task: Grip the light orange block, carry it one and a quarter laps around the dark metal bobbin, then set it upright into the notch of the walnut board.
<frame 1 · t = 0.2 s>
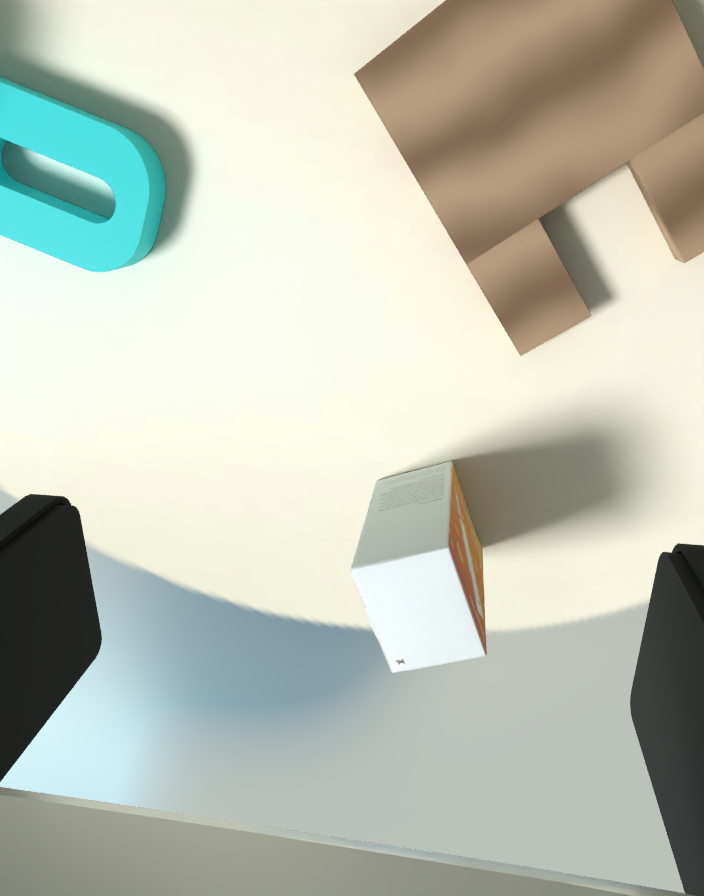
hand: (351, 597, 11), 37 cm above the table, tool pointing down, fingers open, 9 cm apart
notched board: (555, 145, 40), on the table
bracket: (32, 164, 46), on the table
small box: (430, 512, 51), on the table
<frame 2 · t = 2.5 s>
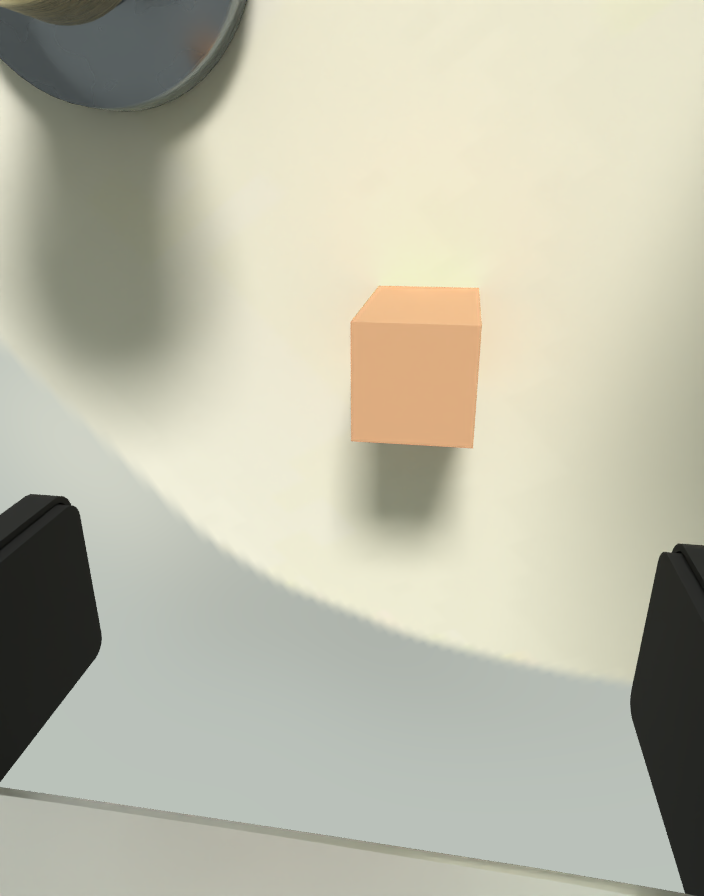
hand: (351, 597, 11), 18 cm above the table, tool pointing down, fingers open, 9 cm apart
light orange block: (426, 336, 27), on the table
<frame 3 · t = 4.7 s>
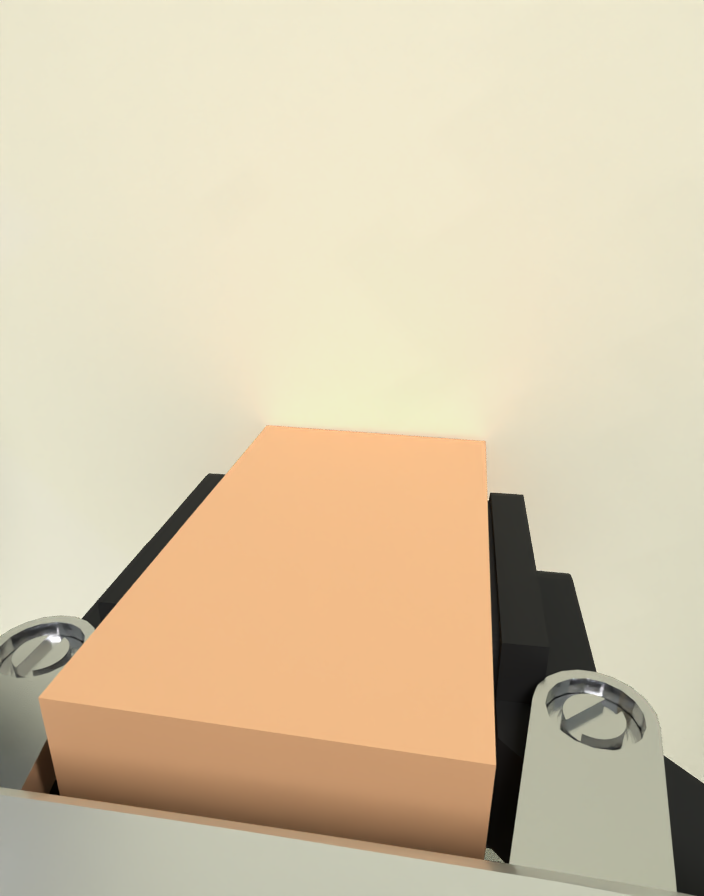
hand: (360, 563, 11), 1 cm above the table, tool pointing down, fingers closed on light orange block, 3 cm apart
light orange block: (371, 529, 13), on the table, touching gripper
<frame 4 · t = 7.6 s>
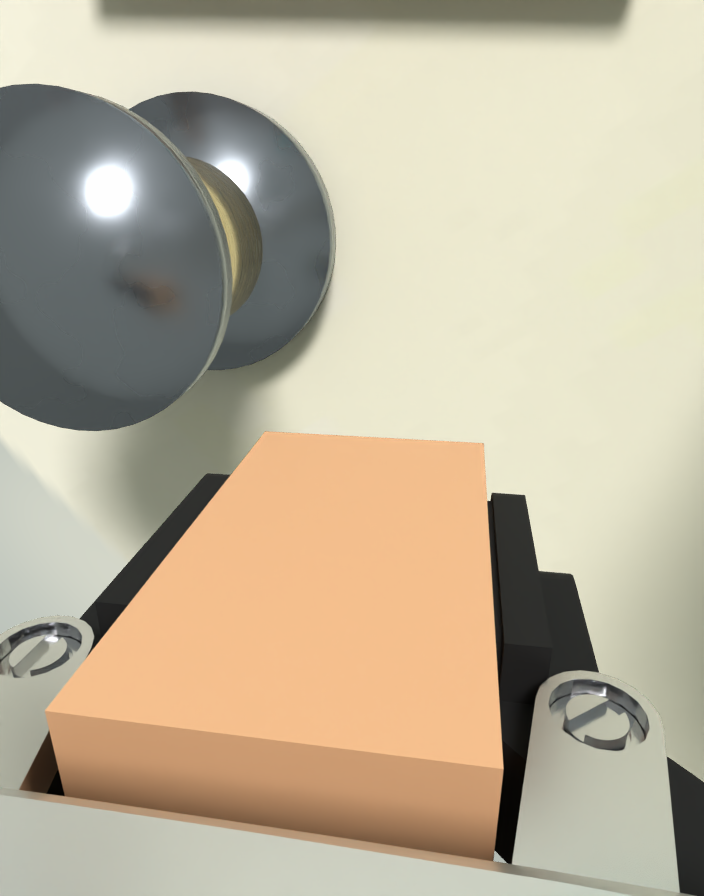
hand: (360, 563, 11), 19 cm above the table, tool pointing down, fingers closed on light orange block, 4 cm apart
bobbin: (211, 238, 29), on the table
light orange block: (370, 533, 13), point 18 cm above the table, touching gripper
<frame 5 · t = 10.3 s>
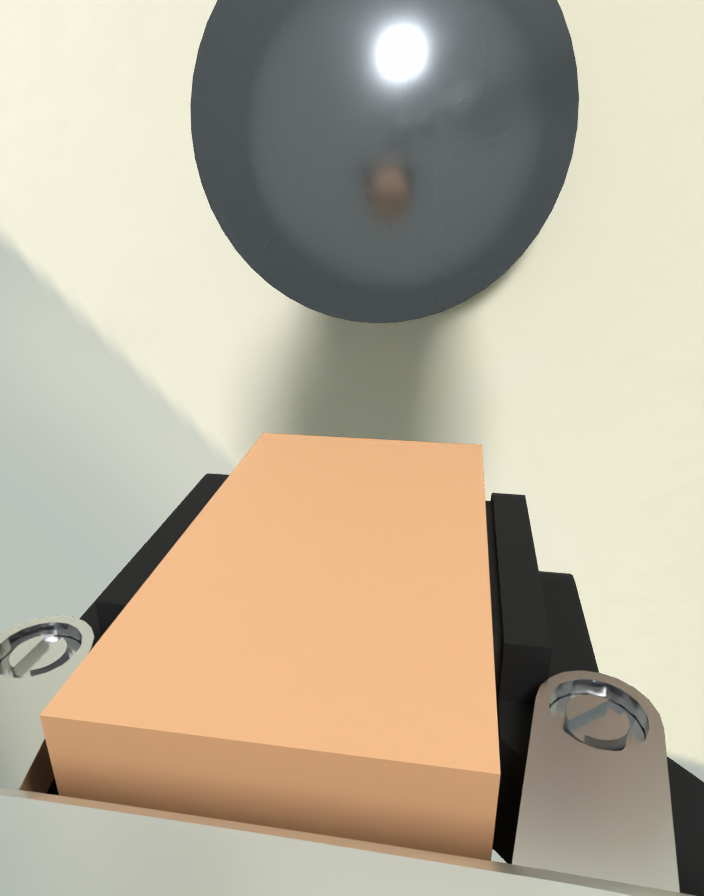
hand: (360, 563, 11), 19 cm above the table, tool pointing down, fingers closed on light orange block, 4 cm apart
bobbin: (411, 150, 26), on the table
light orange block: (369, 535, 13), point 18 cm above the table, touching gripper
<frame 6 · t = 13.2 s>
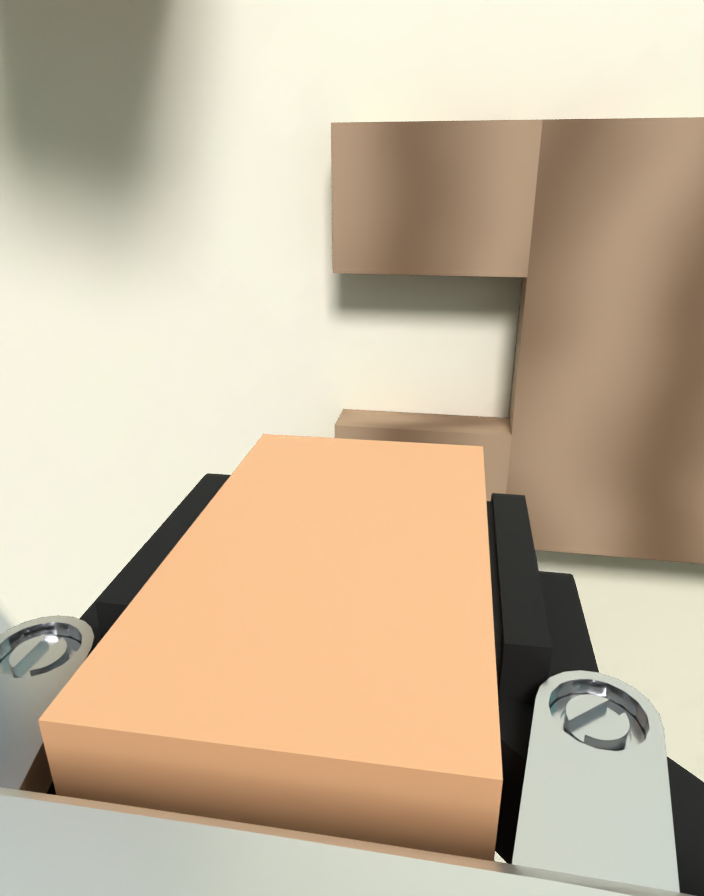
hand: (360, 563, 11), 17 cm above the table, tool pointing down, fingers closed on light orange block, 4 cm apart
notched board: (594, 350, 26), on the table
light orange block: (369, 536, 13), point 16 cm above the table, touching gripper
when the fingers open (3 cm above the table, at t = 15.9 s): light orange block drops 2 cm, on the table.
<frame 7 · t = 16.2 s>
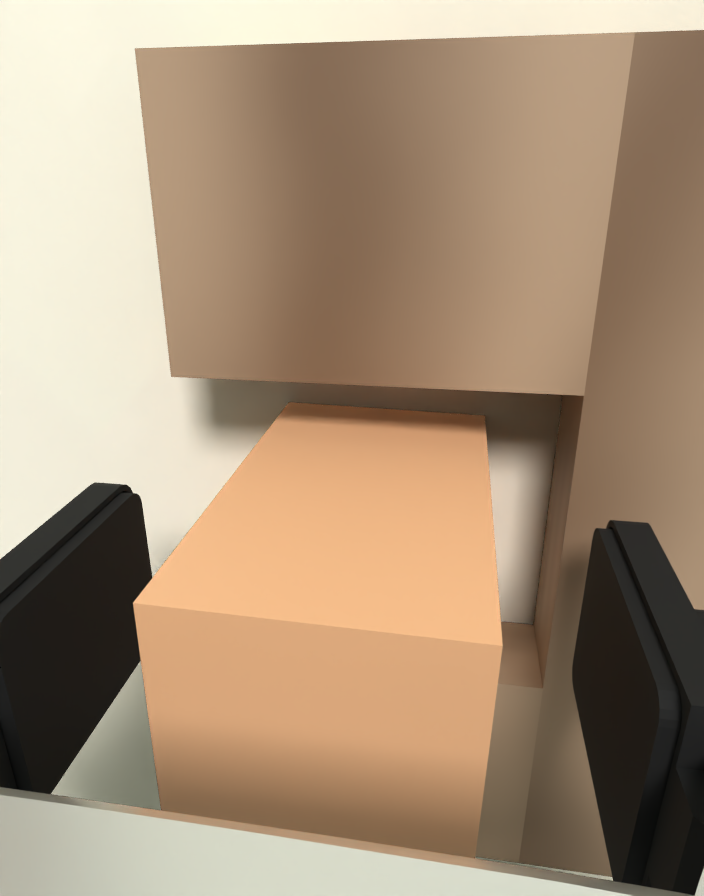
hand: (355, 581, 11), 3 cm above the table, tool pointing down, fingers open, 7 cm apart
light orange block: (381, 496, 14), on the table
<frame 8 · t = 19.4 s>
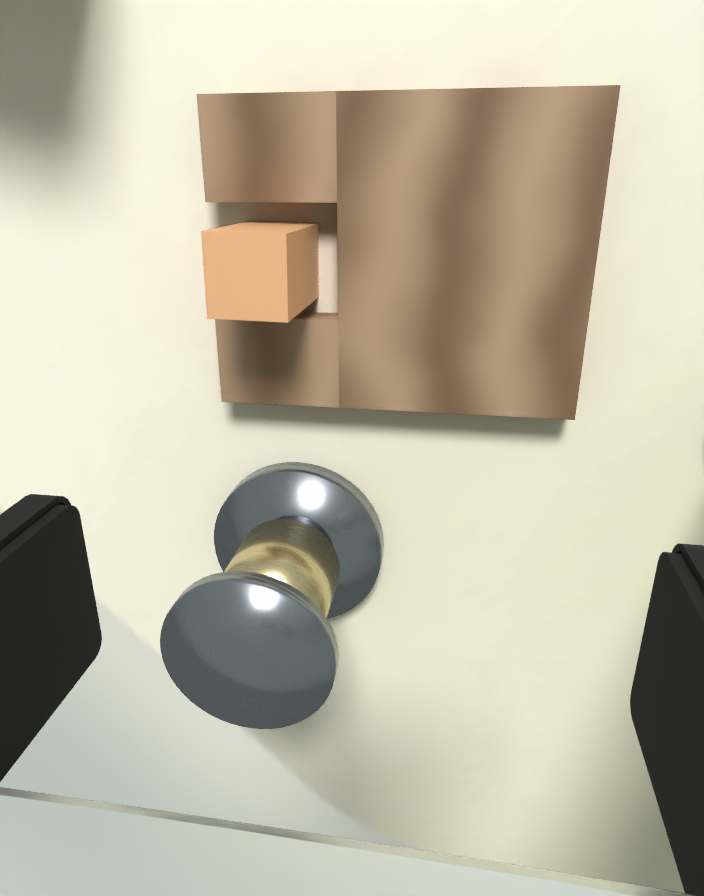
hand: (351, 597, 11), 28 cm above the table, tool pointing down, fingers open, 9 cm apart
notched board: (398, 260, 36), on the table
bobbin: (301, 538, 44), on the table
light orange block: (283, 259, 37), on the table
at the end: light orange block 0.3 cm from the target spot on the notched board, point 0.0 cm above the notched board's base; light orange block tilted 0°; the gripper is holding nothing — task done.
